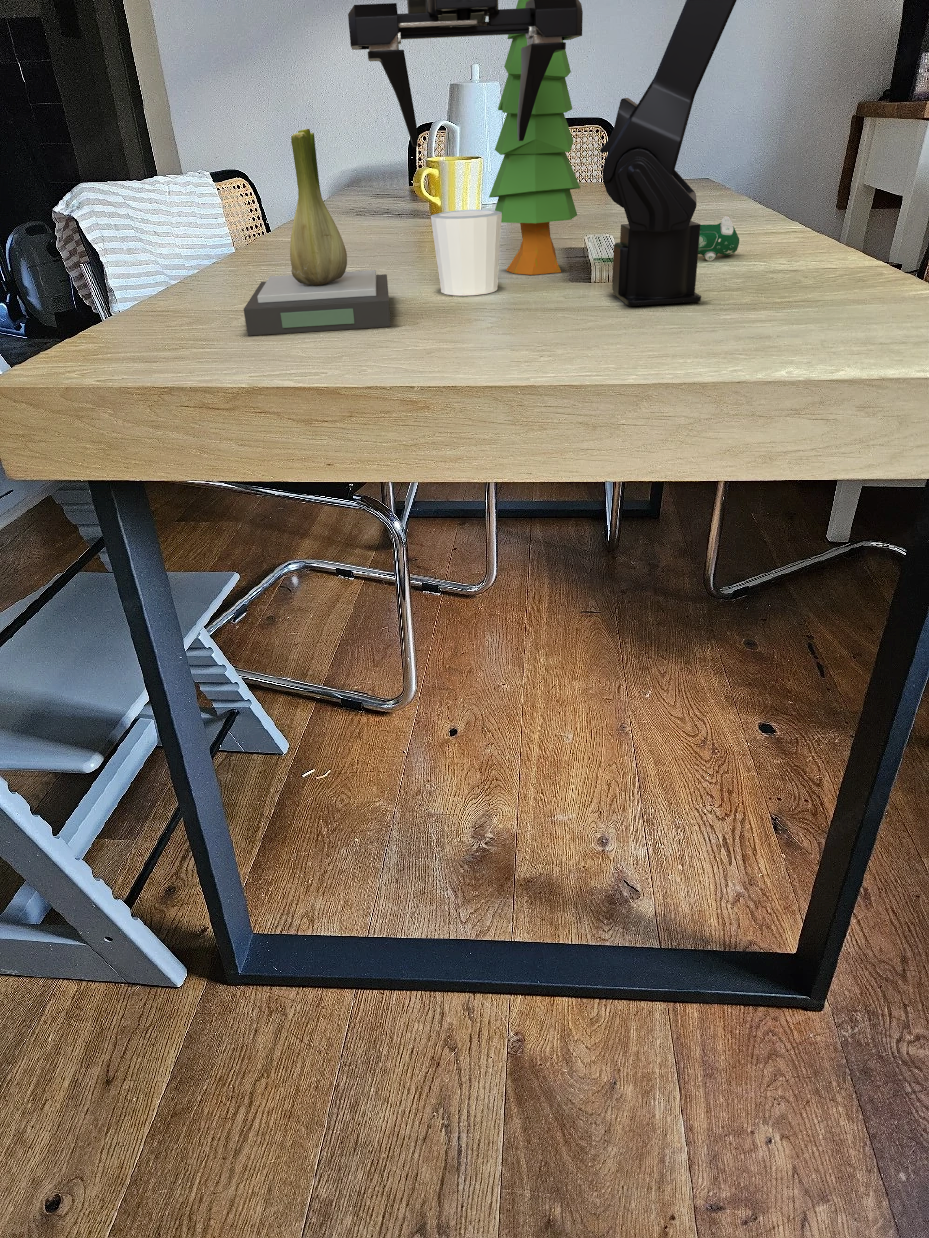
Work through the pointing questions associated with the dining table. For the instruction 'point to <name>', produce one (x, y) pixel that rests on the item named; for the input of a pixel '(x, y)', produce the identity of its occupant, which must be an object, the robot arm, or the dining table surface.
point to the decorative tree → (535, 161)
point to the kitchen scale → (319, 304)
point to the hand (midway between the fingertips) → (468, 143)
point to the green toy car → (718, 239)
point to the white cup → (467, 250)
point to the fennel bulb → (313, 222)
